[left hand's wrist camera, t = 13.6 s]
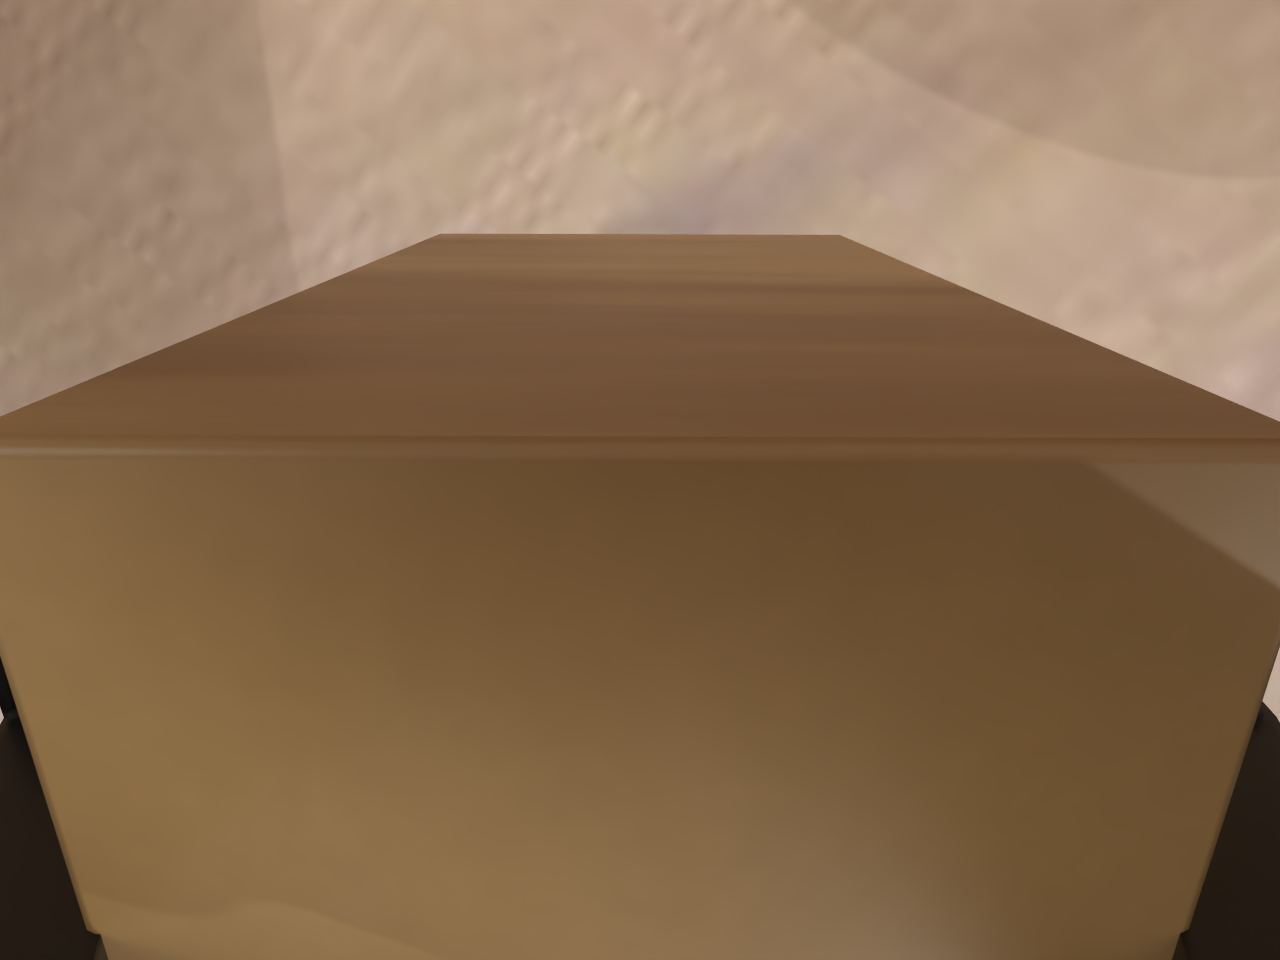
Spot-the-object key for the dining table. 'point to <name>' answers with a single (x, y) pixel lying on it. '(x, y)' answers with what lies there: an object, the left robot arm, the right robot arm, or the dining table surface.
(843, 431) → the box
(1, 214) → the dining table surface
